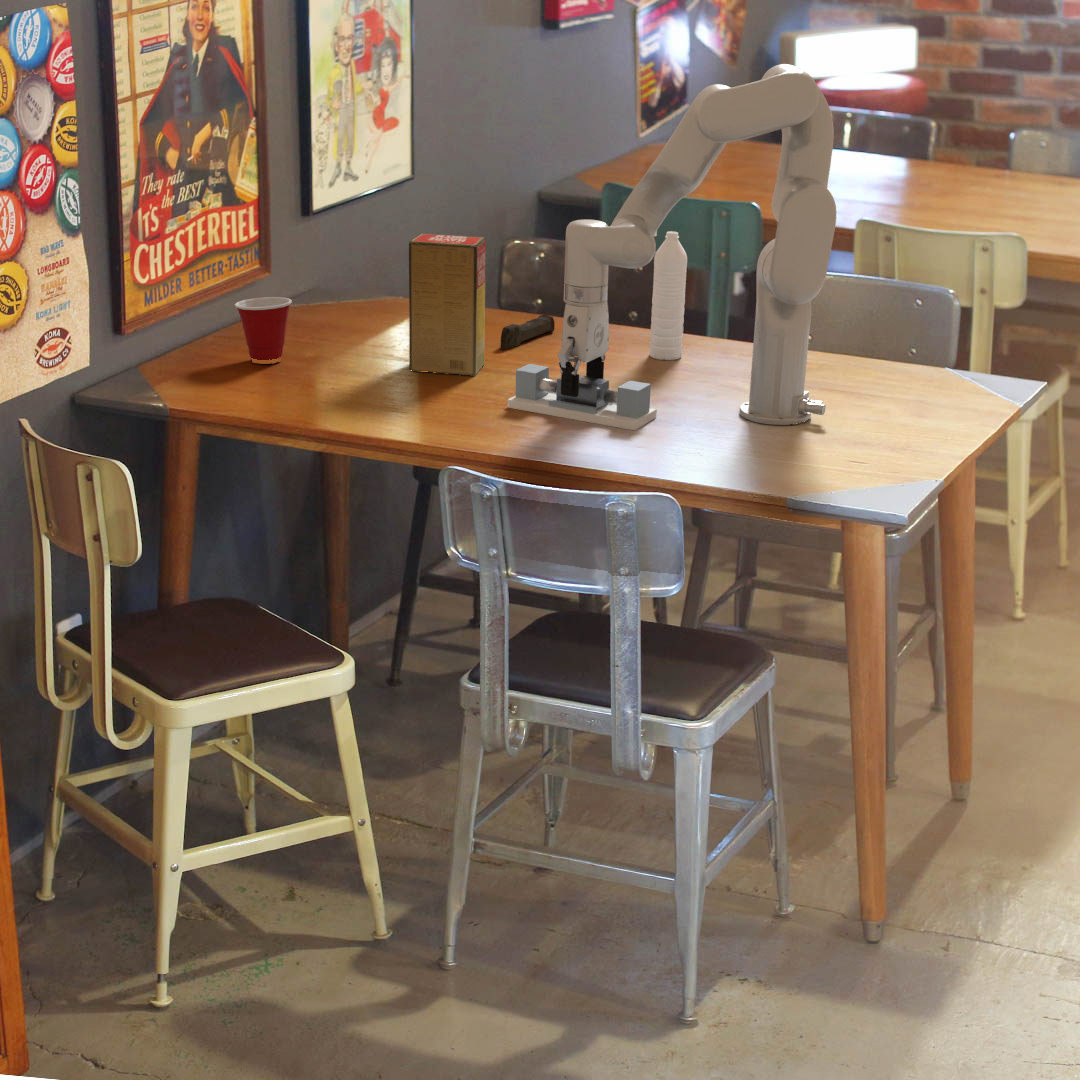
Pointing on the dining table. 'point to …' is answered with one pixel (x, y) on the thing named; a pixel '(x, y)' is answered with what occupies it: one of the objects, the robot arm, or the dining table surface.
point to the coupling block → (586, 392)
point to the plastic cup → (264, 325)
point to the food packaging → (447, 304)
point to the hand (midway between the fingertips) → (582, 389)
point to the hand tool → (526, 331)
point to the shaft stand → (622, 409)
